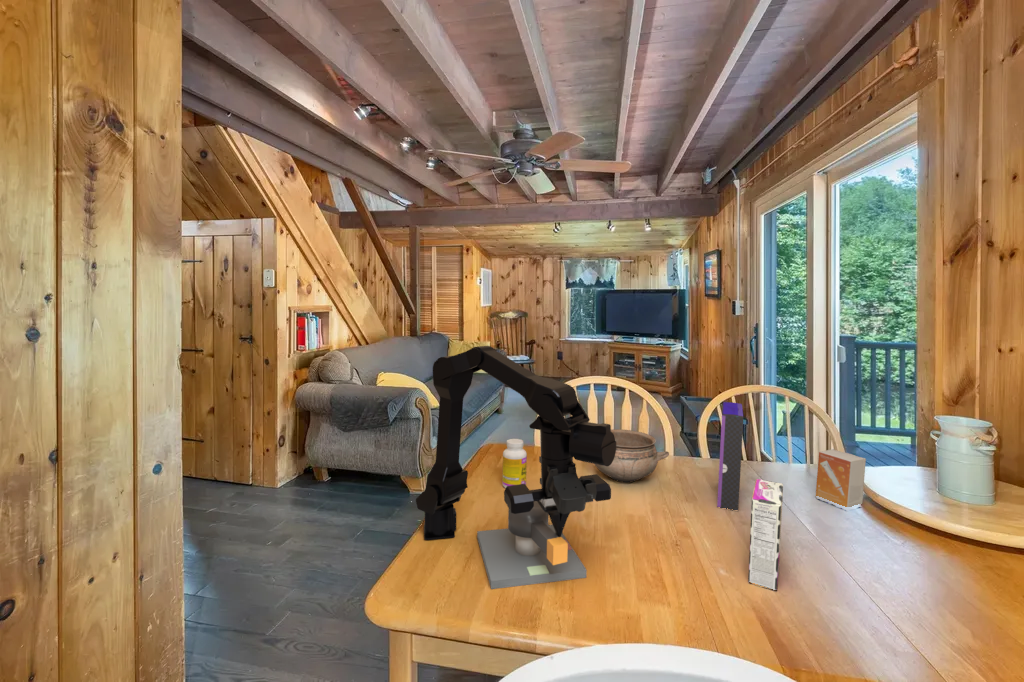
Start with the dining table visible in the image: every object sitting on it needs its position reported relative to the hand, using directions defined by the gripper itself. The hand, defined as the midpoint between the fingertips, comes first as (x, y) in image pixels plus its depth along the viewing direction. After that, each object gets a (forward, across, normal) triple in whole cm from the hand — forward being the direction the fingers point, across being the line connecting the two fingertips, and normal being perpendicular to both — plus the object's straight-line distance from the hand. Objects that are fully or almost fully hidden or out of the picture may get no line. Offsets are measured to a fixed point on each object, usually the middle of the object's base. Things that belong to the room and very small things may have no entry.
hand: (558, 537), depth 82 cm
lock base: (+8, -3, +9) cm, 13 cm away
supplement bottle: (+9, +3, +44) cm, 45 cm away
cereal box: (+11, +57, +25) cm, 63 cm away
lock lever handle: (+2, -2, +4) cm, 6 cm away
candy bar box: (+10, +39, -7) cm, 41 cm away
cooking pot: (+10, +36, +42) cm, 57 cm away
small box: (+12, +83, +15) cm, 85 cm away
